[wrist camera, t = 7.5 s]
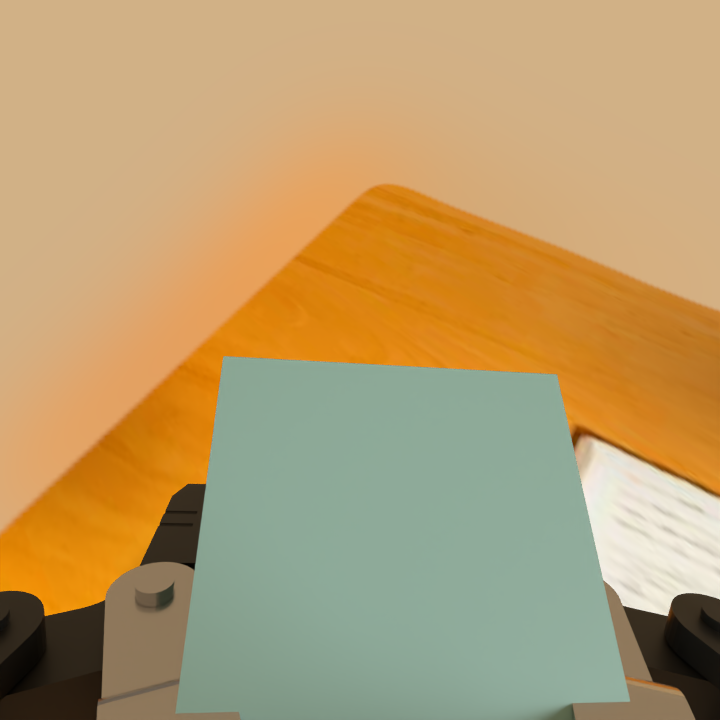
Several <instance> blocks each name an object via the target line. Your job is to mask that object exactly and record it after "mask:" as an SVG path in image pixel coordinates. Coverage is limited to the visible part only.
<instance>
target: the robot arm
mask: <svg viewBox="0 0 720 720" xmlns="http://www.w3.org/2000/svg"><path fill="white" fill-rule="evenodd" d="M205 490H206V484H187V485H186V486H185V487H184V488H182V489H181V490H180V491H178V492H177V493H176V494H174V495H173V496H172V498H171V500H170V502H169V504H168V507H167V509H166V512H165V514H164V515H163V517H162V519H161V522H160V526H158V528H157V530H156V532H155V534H154V537H153V539H152V541H151V543H150V545H149V547H148V549H147V552H146V554H145V556H144V558H143V560H142V562H141V564H140V567H137V568H134V569H132V570H130V571H128V572H126V573H125V574H123V575H122V576H120V577H119V578H118V579H117V580H116V581H115V582H114V583H113V584H112V585H111V586H110V588H109V589H108V591H107V594H106V598H105V600H104V601H102V602H100V603H97V604H94V605H92V606H88V607H85V608H81V609H76V610H72V611H67V612H63V613H58V614H53V615H49V616H45V615H44V606H43V604H42V602H41V601H40V600H39V599H38V598H37V597H36V596H34V595H32V594H29V593H26V592H20V591H3V592H0V720H241V719H240V714H239V712H210V713H175V712H176V705H177V697H178V690H179V682H180V675H181V668H182V660H183V653H184V645H185V638H186V631H187V623H188V616H189V608H190V601H191V593H192V586H193V579H194V571H195V564H196V556H197V549H198V542H199V534H200V527H201V519H202V512H203V504H204V497H205ZM603 582H604V587H605V591H606V596H607V600H608V604H609V609H610V613H611V618H612V622H613V627H614V631H615V636H616V640H617V645H618V649H619V653H620V658H621V662H622V667H623V671H624V676H625V680H626V685H627V689H628V693H629V698H630V702H597V703H572V720H720V600H719V599H717V598H714V597H710V596H707V595H702V594H694V593H686V594H681V595H678V596H676V597H675V598H674V599H673V601H672V603H671V607H670V610H669V614H668V616H664V615H660V614H655V613H651V612H646V611H642V610H637V609H633V608H629V607H625V606H622V603H621V601H620V598H619V596H618V595H617V593H616V592H615V591H614V589H613V588H612V587H611V586H610V585H608V584H607V583H606V582H605V581H603Z"/></svg>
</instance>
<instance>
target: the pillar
mask: <svg viewBox="0 0 720 720" xmlns="http://www.w3.org/2000/svg"><path fill="white" fill-rule="evenodd" d="M597 702H630V698H629V693H628V689H627V685H626V680H625V676H624V671H623V667H622V662H621V658H620V653H619V649H618V645H617V640H616V636H615V631H614V627H613V622H612V618H611V613H610V609H609V604H608V600H607V596H606V591H605V587H604V582H603V578H602V573H601V569H600V564H599V560H598V555H597V551H596V547H595V542H594V538H593V533H592V529H591V524H590V520H589V515H588V511H587V507H586V502H585V498H584V493H583V489H582V484H581V480H580V475H579V471H578V466H577V462H576V458H575V453H574V449H573V444H572V440H571V435H570V431H569V426H568V422H567V417H566V413H565V409H564V404H563V400H562V395H561V391H560V386H559V382H558V377H557V374H539V373H520V372H502V371H484V370H465V369H447V368H429V367H410V366H392V365H374V364H355V363H337V362H319V361H300V360H282V359H264V358H246V357H227V356H223V364H222V371H221V378H220V386H219V393H218V401H217V408H216V415H215V423H214V430H213V438H212V445H211V453H210V460H209V467H208V475H207V482H206V490H205V497H204V504H203V512H202V519H201V527H200V534H199V542H198V549H197V556H196V564H195V571H194V579H193V586H192V593H191V601H190V608H189V616H188V623H187V631H186V638H185V645H184V653H183V660H182V668H181V675H180V682H179V690H178V697H177V705H176V712H175V713H210V712H239V714H240V719H241V720H572V703H597Z"/></svg>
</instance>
